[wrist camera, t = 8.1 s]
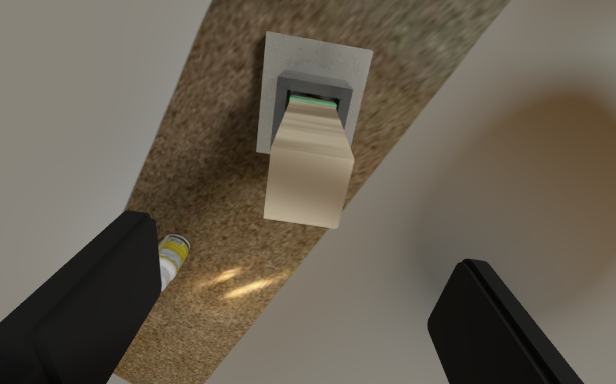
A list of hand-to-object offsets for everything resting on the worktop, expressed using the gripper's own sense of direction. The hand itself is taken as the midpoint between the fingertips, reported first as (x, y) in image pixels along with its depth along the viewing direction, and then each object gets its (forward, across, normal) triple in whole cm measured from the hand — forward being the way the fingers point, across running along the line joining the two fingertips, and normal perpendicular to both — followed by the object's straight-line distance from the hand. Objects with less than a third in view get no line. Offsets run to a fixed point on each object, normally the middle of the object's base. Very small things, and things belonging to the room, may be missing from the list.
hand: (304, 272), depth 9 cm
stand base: (+31, 0, 0) cm, 31 cm away
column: (+22, 0, 0) cm, 22 cm away
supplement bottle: (+31, +18, +26) cm, 45 cm away
